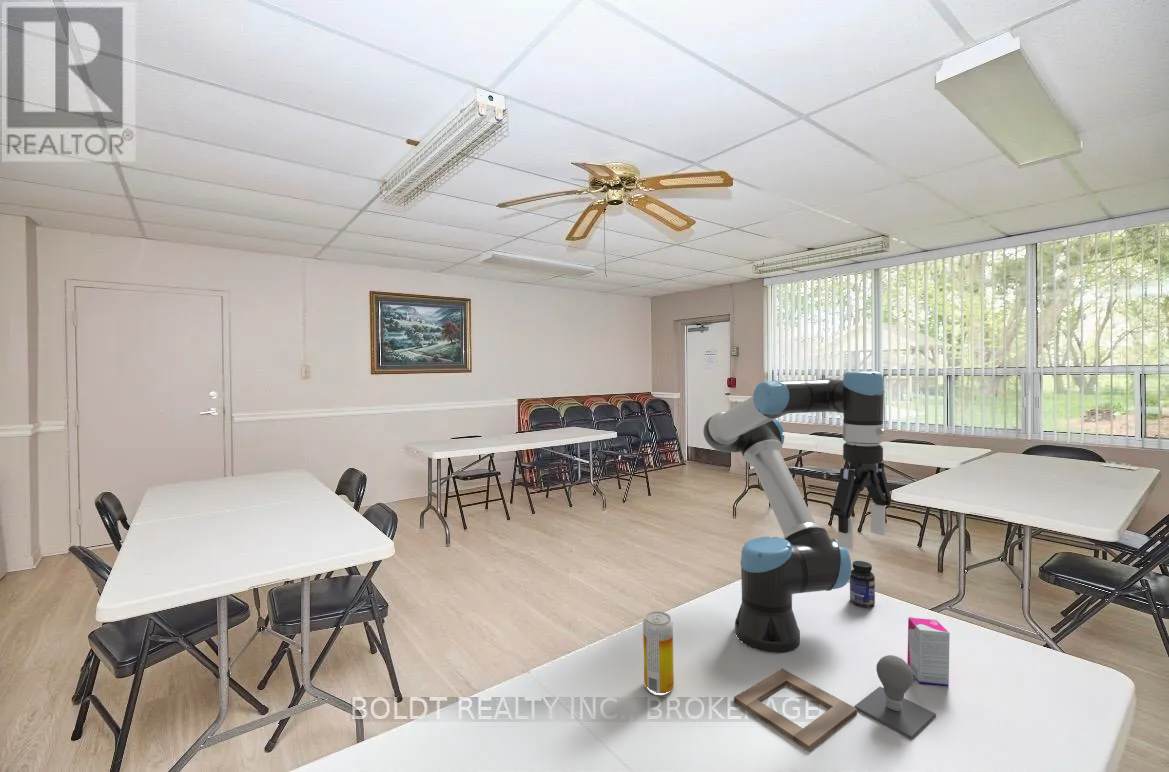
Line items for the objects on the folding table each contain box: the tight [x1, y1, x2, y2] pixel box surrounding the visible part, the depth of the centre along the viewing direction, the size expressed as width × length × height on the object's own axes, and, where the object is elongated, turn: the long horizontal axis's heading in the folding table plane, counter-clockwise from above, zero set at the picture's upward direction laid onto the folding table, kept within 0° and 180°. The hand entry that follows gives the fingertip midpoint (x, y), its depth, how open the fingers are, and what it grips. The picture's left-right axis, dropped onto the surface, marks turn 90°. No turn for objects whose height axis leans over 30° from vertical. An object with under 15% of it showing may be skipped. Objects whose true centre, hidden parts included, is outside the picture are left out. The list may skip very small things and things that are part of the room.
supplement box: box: [906, 616, 951, 688], centre depth 106 cm, size 6×6×12 cm
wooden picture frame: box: [733, 668, 858, 752], centre depth 97 cm, size 16×16×1 cm
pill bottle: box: [849, 560, 876, 608], centre depth 139 cm, size 6×6×11 cm
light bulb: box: [876, 654, 914, 711], centre depth 95 cm, size 6×6×10 cm
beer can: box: [642, 610, 675, 693], centre depth 104 cm, size 6×6×15 cm
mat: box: [854, 686, 937, 740], centre depth 95 cm, size 10×10×1 cm
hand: (862, 540), depth 109 cm, fingers open, 13 cm apart
